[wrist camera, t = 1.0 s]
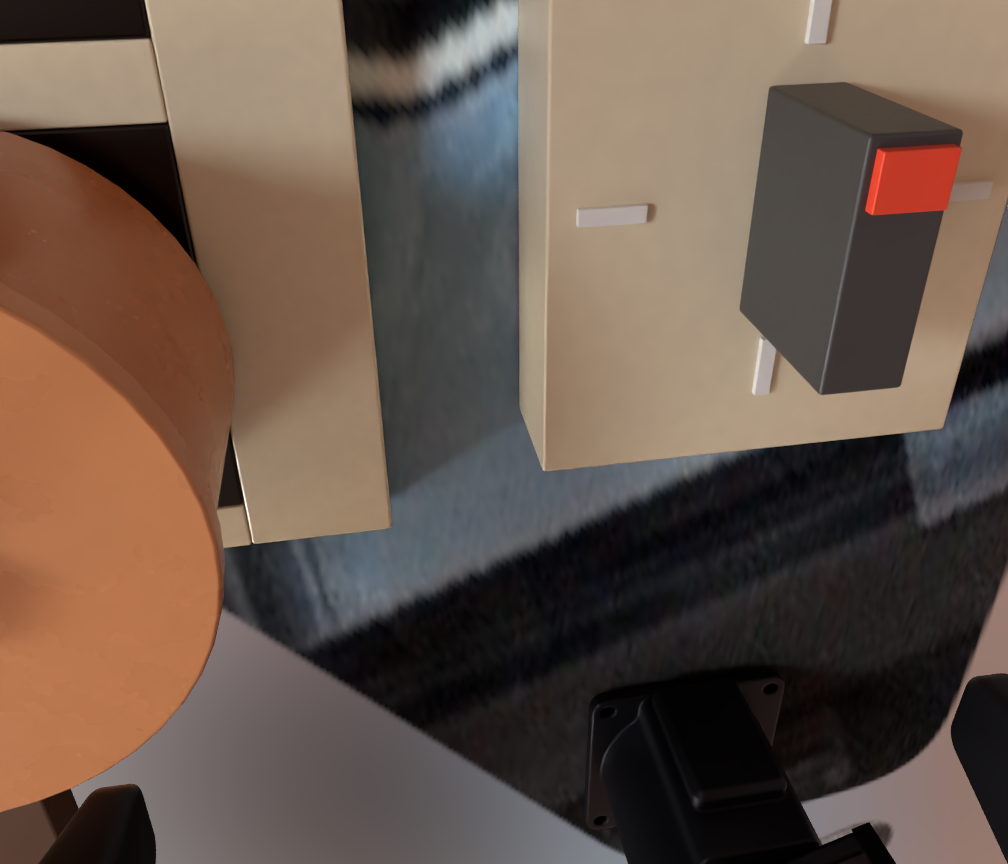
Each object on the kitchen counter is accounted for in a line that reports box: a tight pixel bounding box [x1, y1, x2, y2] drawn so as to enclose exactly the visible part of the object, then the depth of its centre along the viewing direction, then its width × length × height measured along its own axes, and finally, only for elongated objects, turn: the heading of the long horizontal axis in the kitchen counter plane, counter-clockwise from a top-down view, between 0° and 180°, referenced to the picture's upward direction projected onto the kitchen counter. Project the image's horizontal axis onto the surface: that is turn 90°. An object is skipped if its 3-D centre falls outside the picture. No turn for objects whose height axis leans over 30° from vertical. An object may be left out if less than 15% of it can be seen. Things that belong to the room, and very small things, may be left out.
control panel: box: [518, 0, 1008, 472], centre depth 20 cm, size 12×10×3 cm
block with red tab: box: [740, 82, 963, 395], centre depth 17 cm, size 5×2×4 cm, turn 1°
